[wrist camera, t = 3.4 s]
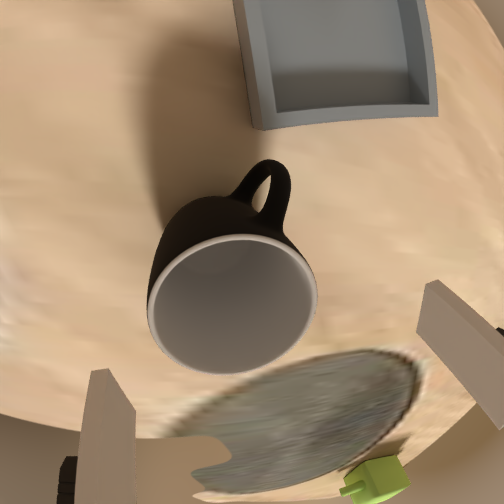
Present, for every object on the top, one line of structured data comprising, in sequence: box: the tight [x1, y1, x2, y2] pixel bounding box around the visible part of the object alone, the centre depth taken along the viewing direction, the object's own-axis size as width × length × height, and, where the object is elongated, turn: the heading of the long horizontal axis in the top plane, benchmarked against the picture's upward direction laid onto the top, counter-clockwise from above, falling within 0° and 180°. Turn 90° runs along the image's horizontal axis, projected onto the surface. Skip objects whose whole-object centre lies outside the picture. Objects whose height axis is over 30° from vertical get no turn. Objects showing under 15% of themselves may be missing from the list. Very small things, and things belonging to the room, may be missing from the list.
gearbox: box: [339, 455, 411, 504], centre depth 53 cm, size 18×10×10 cm, turn 67°
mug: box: [147, 159, 318, 375], centre depth 20 cm, size 12×9×10 cm
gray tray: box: [233, 0, 438, 131], centre depth 18 cm, size 15×17×3 cm
